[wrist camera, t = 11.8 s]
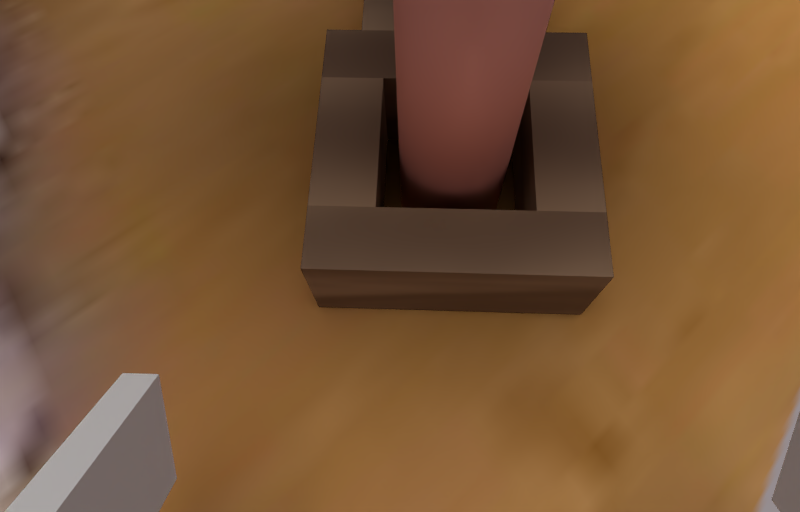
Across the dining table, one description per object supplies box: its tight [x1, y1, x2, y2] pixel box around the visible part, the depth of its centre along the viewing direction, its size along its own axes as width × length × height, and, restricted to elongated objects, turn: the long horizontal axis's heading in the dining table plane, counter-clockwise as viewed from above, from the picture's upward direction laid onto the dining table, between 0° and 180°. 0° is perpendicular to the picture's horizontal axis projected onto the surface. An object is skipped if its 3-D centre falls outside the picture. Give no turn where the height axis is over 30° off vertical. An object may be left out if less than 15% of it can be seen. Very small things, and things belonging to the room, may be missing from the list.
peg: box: [393, 0, 555, 210], centre depth 18 cm, size 4×4×14 cm
